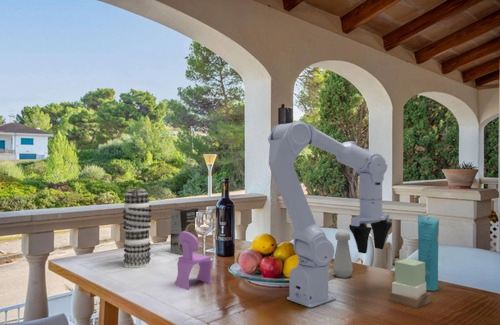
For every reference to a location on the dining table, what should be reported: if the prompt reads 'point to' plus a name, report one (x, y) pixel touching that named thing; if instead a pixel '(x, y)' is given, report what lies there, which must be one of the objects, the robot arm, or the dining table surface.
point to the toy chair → (191, 261)
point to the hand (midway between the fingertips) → (370, 250)
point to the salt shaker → (342, 256)
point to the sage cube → (410, 272)
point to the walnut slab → (412, 300)
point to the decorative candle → (137, 228)
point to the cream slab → (408, 290)
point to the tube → (429, 249)
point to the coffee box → (182, 226)
